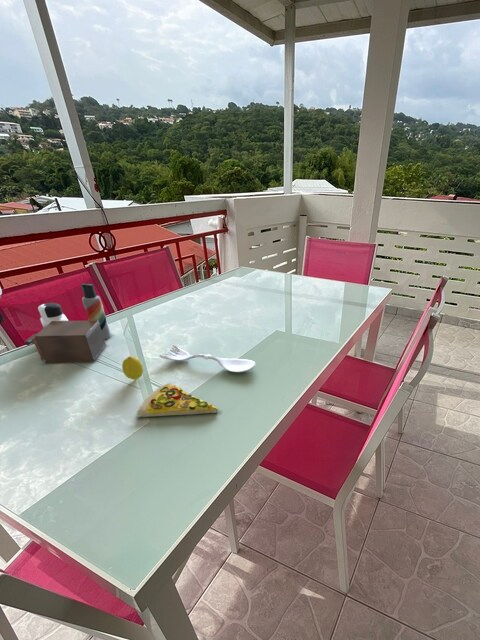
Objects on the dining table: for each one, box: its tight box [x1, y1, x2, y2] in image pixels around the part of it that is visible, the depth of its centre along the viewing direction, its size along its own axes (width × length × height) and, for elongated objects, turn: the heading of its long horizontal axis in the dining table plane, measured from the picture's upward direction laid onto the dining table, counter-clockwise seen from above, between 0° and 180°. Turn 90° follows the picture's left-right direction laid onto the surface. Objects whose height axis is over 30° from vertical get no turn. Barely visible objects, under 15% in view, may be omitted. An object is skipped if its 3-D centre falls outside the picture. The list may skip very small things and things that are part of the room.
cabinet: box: [34, 320, 107, 364], centre depth 111 cm, size 15×13×10 cm
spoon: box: [158, 344, 256, 373], centre depth 111 cm, size 9×32×4 cm, turn 77°
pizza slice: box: [137, 382, 219, 418], centre depth 91 cm, size 16×21×3 cm
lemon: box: [121, 355, 144, 381], centre depth 100 cm, size 6×6×8 cm
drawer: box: [24, 333, 45, 361], centre depth 110 cm, size 18×11×8 cm, turn 100°
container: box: [37, 302, 69, 329], centre depth 119 cm, size 8×8×13 cm
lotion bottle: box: [80, 283, 112, 340], centre depth 120 cm, size 6×6×20 cm
